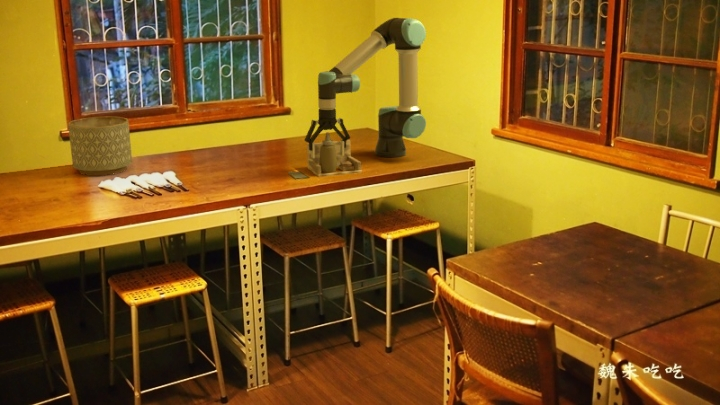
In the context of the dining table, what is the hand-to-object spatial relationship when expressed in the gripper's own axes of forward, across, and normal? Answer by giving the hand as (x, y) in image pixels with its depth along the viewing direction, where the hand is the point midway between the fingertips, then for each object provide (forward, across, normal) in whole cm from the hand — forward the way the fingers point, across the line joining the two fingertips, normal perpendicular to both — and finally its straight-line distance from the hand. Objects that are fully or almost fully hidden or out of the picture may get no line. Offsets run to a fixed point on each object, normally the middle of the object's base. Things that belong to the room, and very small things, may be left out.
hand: (327, 156), depth 348 cm
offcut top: (+5, -8, 0) cm, 10 cm away
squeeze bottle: (+8, 0, 0) cm, 8 cm away
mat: (+8, +12, 0) cm, 14 cm away
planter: (+8, +92, -44) cm, 102 cm away
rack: (+7, -3, 0) cm, 8 cm away
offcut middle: (+7, -9, 0) cm, 11 cm away
